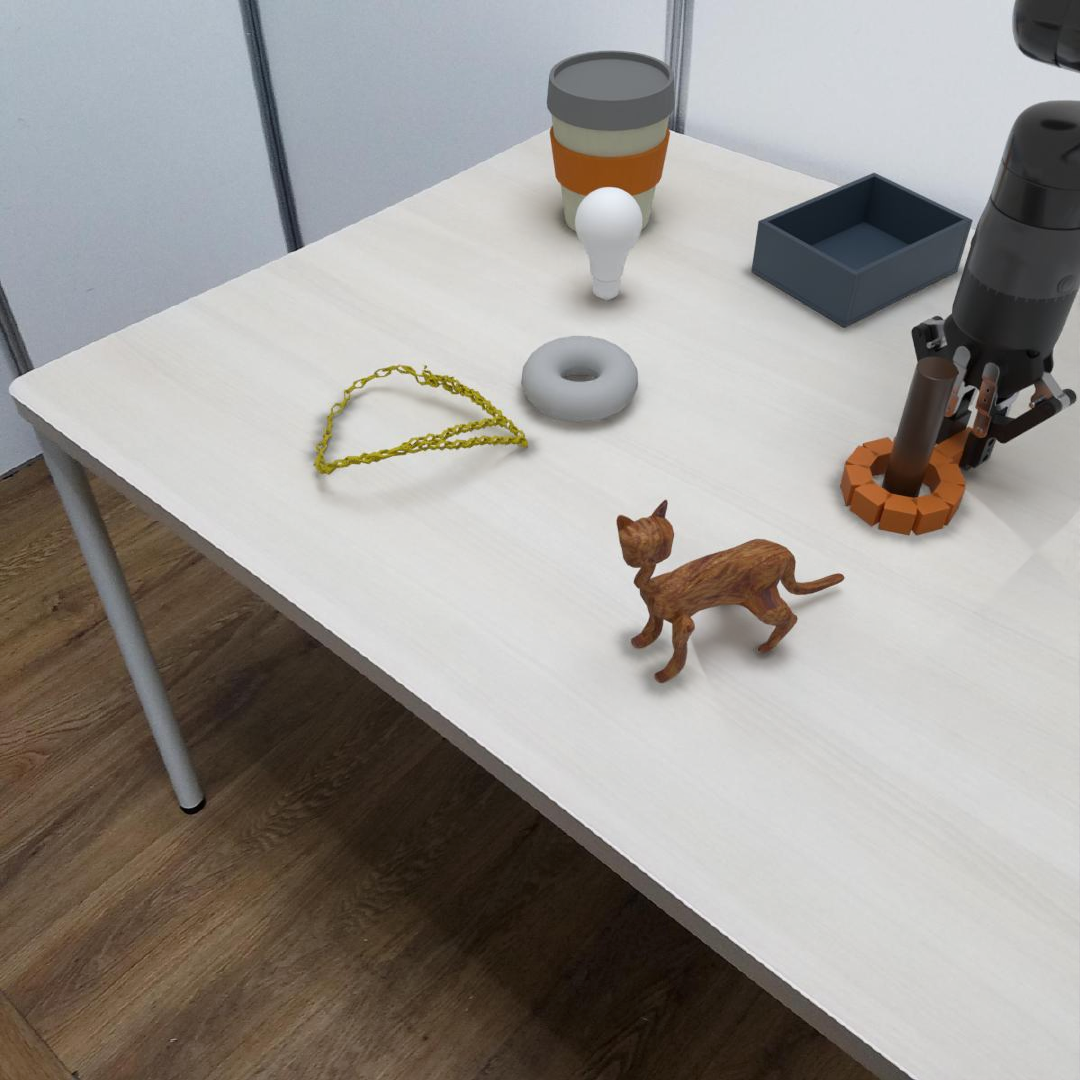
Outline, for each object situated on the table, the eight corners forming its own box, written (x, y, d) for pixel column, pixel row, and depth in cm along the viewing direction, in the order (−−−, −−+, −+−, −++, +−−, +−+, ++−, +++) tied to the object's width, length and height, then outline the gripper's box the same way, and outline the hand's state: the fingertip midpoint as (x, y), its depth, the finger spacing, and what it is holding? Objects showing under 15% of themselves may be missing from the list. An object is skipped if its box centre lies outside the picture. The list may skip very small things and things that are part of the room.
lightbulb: (561, 303, 102) (561, 195, 94) (596, 274, 105) (599, 168, 98) (616, 323, 99) (620, 214, 92) (649, 293, 103) (657, 186, 95)
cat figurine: (814, 557, 78) (850, 409, 68) (869, 620, 74) (916, 470, 64) (593, 639, 73) (597, 490, 63) (638, 710, 68) (651, 563, 59)
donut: (644, 367, 95) (534, 353, 96) (647, 335, 92) (534, 321, 94) (628, 438, 88) (509, 422, 89) (630, 405, 85) (509, 389, 87)
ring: (906, 552, 78) (913, 530, 77) (817, 486, 83) (822, 465, 82) (1016, 481, 83) (1024, 460, 82) (925, 424, 88) (932, 403, 87)
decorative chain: (532, 445, 87) (531, 396, 84) (398, 530, 79) (392, 478, 76) (396, 381, 96) (391, 334, 93) (261, 451, 87) (251, 402, 84)
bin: (863, 221, 112) (874, 172, 108) (957, 271, 105) (973, 219, 101) (751, 271, 105) (758, 220, 102) (843, 327, 98) (855, 275, 95)
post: (907, 480, 84) (946, 353, 75) (923, 504, 82) (965, 377, 73) (873, 486, 83) (909, 359, 75) (889, 510, 81) (927, 382, 73)
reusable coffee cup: (523, 217, 114) (519, 74, 103) (606, 178, 120) (610, 39, 109) (607, 261, 107) (612, 114, 96) (690, 218, 113) (704, 74, 102)
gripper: (1148, 290, 70) (1061, 485, 83) (977, 209, 78) (921, 398, 91) (1079, 329, 67) (999, 525, 80) (909, 241, 75) (860, 432, 88)
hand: (958, 457), depth 85 cm, fingers closed on ring, 1 cm apart
